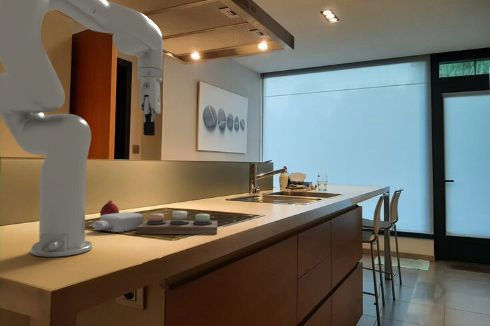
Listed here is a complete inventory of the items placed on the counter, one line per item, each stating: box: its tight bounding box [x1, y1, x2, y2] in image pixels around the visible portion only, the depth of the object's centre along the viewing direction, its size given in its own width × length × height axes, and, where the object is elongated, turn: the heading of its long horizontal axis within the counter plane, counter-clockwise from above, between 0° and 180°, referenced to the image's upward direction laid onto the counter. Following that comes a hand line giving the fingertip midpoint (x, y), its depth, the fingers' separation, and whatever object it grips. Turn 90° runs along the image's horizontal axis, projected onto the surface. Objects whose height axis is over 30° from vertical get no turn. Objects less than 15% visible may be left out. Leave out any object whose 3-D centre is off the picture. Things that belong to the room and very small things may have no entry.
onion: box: [99, 199, 120, 217], centre depth 121 cm, size 6×6×8 cm
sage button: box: [194, 213, 211, 222], centre depth 113 cm, size 4×4×2 cm
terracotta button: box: [148, 212, 165, 221], centre depth 112 cm, size 4×4×2 cm
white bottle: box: [88, 211, 144, 233], centre depth 111 cm, size 5×9×15 cm
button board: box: [136, 219, 218, 235], centre depth 112 cm, size 12×23×3 cm, turn 94°
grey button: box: [171, 210, 188, 220], centre depth 112 cm, size 4×4×2 cm
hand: (149, 135), depth 114 cm, fingers closed
